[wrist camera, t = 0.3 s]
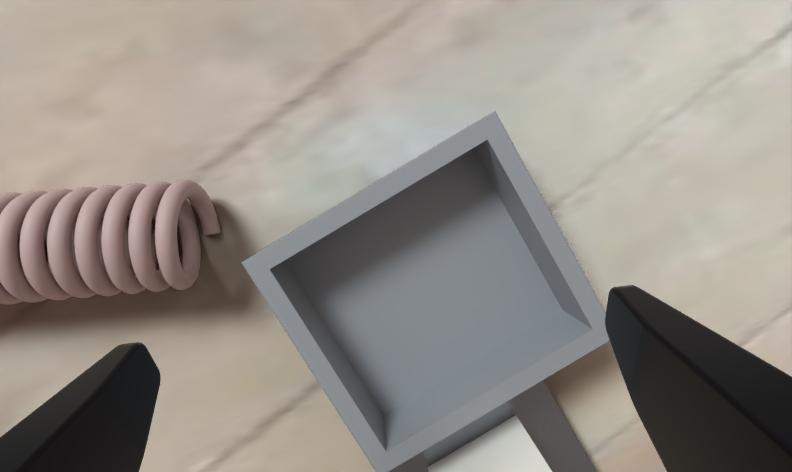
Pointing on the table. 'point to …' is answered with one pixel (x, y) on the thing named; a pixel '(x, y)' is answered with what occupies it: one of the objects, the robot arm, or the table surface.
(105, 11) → the table surface
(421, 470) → the stud plate
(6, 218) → the coil
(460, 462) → the cream rectangular block
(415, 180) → the bin
